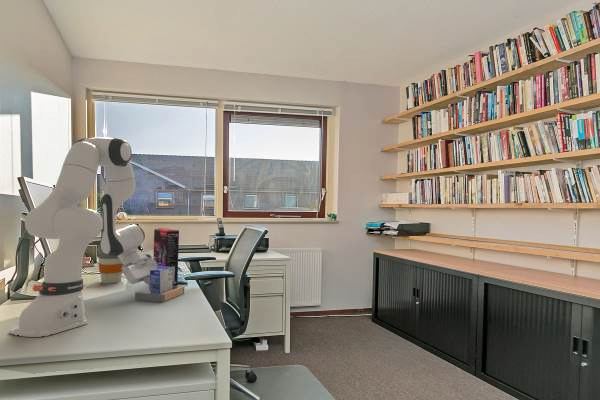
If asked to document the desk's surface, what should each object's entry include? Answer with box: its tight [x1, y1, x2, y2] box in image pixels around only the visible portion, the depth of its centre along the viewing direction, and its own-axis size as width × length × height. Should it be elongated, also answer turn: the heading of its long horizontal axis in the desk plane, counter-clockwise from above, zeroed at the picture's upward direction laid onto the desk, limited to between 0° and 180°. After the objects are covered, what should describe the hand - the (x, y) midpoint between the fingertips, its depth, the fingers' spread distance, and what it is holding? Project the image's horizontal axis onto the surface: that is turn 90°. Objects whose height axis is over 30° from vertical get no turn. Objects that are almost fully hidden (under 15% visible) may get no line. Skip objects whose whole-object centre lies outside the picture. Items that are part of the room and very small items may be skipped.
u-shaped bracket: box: [134, 285, 185, 303], centre depth 177 cm, size 17×13×3 cm
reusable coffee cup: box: [97, 250, 123, 284], centre depth 206 cm, size 13×13×15 cm
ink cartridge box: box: [149, 262, 172, 294], centre depth 177 cm, size 10×6×14 cm, turn 167°
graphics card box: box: [152, 227, 180, 286], centre depth 201 cm, size 17×7×27 cm, turn 40°
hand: (154, 285), depth 178 cm, fingers closed, pressing on ink cartridge box
